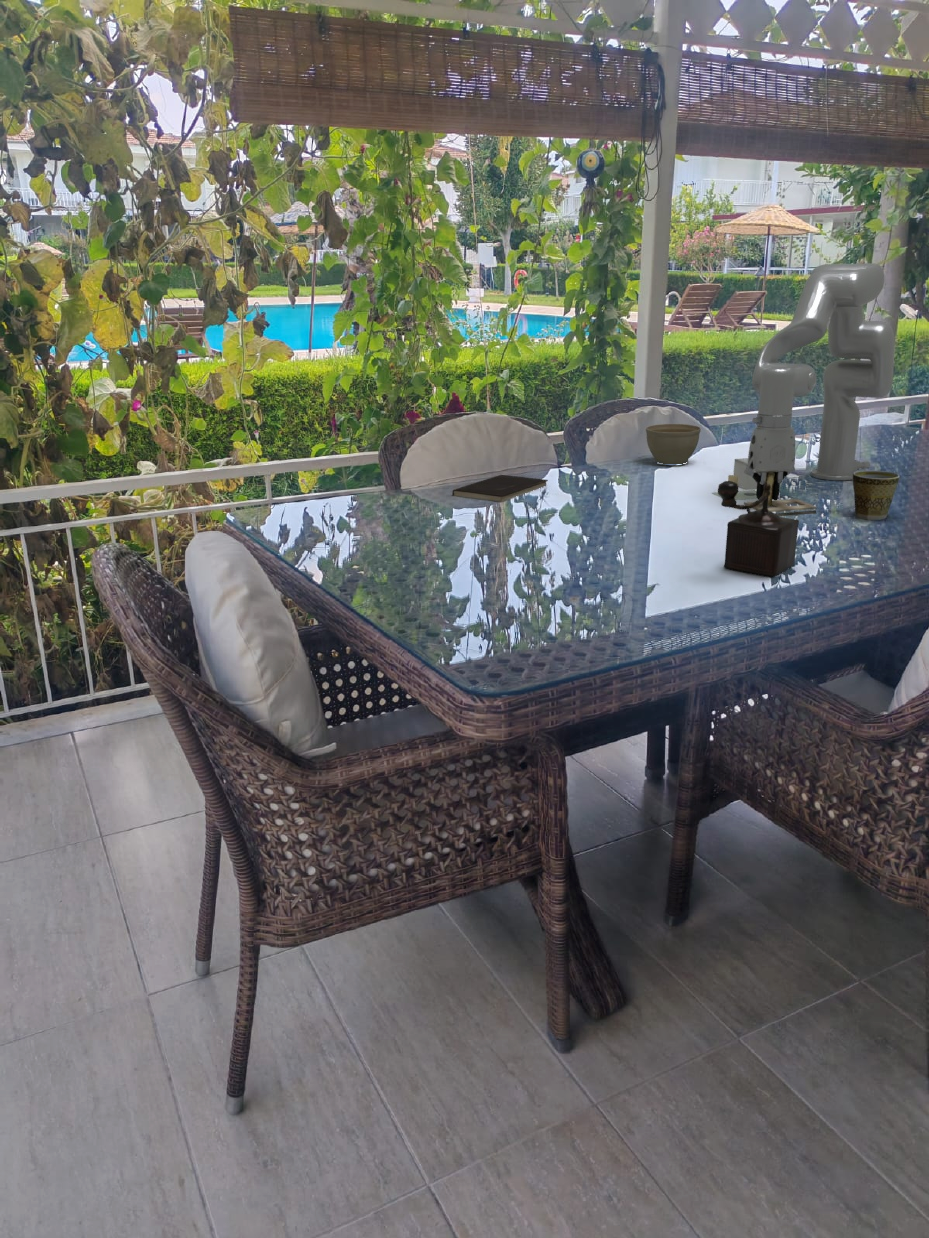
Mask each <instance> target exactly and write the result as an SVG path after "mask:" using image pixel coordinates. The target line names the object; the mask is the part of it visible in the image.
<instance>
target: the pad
mask: <svg viewBox="0 0 929 1238" xmlns="http://www.w3.org/2000/svg"><path fill="white" fill-rule="evenodd" d="M727 479H728V480H727V481H732V482H735V483H737V484H738V476H736V475H734V474H732V475H728V477H727ZM711 494H712V495H714V496H717V497H718V498H721V496H720V495H719V494H718V491H717V492H711ZM754 499H755V500H758V499H757V496H756V489H751V490H738V493H737V494H736V496H735V500H736V501H738V500H739V501H741V500H754Z"/></svg>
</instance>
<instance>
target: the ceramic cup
mask: <svg viewBox="0 0 929 1238" xmlns="http://www.w3.org/2000/svg"><path fill="white" fill-rule="evenodd" d="M899 482H900V474H898V473H895V472H892V471H886V470H874V469H873V470H871V469H870V470H869V469H868V470H866V469H863V470H857V472H854V473H853V479H852V488H853V495H854V496H853V497H854V513H855V515H856V517H857V518H858V519H862V520H869V521H880V520H885V519H886V518H887V517H888V514H889V512H890V507H891V506H892V502H893V498H894V495H895V493H896V490H897V487H898V485H899Z"/></svg>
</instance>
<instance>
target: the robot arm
mask: <svg viewBox="0 0 929 1238" xmlns="http://www.w3.org/2000/svg"><path fill="white" fill-rule="evenodd" d="M884 285H885V272H884V269H883V268H882V266H881V265H880V264H879V263H872V262H871V263H829V264H828V263H827V264H820V265H817V266H815V268H813V269H812V270H811V272H810V275H809V276H808V278H807V280H806V281H805V283H804V286H803V289H802V291H801V294H800V296H799V299H798V302H797V305H796V308H795V311H794V314H793V316H792V319H791V322H790V323H789V324H788V325H787V326H785V327H784V328H782V329H780V331H778V332H777V333H775V335H773V336H772V337H771V338H770V339H769V340H768V341H767V342H766V343H765V345H764V346H763V347H762V349H761V350H760V353H759V356H758V358H757V361H756V364H755V367H754V370H753V374H752V380H751V384H752V388H753V390H754V391H755V393H757V394H759V398H758V408H757V414H756V417H753V418H752V424H756V426H755V427H754V428H753V431H752V436H751V439H750V443H749V446H748V447H749V449H748V455H747V456H748V457H747V458H748V464H747V466H746V468H745V470H744V473H745V474H747V475H749V476H751V477H752V478H753V479H754V480H755V482H757V489H755V491H756V496H757V499H756V500H758V499H759V498H760V497H761V496H762V495H763V491H764V485H765V481H766V473H767V472H775V477H774V488H773V499H772V501H774V500H779V498H778V496H779V495H780V488H781V487H780V483H781V484H783V480H784V479H785V478H786V477H787V476H788V475H790V474H792V473H794V472H795V471H796V467H795V465H796V433H795V428H794V427H793V426H792V418H793V417H792V416H793V403H794V397H795V398H803V397H806V396H807V395H809V394H811V392H813V390H814V388H815V387H816V384H817V379H818V378H817V374H816V370H815V369H814V368H813V366H811V365H809V364H805V363H788V362H786V363H785V362H778V361H779V359H781V358H782V357H783V356H785V355H787V354H789V353H790V352H792V351H794V350H797V349H800V348H803V347H805V346H808V345H811V344H813V343H816V342H818V341H820V340H821V339H823V338H824V337H825V335H826V334H827V340H828V342H827V343H828V351H829V353H830V354H831V356H833V357H835V358H840V359H837V360H834V361H832V362H830V363H828V364H827V366H825V368H824V371H823V375H822V376H823V377H822V384H823V410H822V411H823V412H822V420H821V421H822V422H821V431H820V437H819V438H820V439H819V450H818V458H817V467H816V469H815V468H814V469H811V471H810V476H811V477H813V478H816V479H820V480H828V481H829V480H830V481H851V480H852V481H853V473H854V472H857V471H860V469H861V470H866V469H868V470H869V469H870V468H871V463H870V461H861V462H860V461H859V460H858V459H856V451H857V443H858V436H859V435H858V434H859V425H860V419H861V412H860V408H859V406H858V404H857V403H856V401H855V400H854V399H855V398H857V397H858V398H871V399H872V398H873V399H874V398H884V397H886V396H887V395H888V394H889V393H890V392H891V390H892V387H893V382H894V366H895V365H894V364H895V362H894V361H895V333H894V329H893V327H892V326H891V324H890V323H888V322H886V321H882V320H881V321H879V320H878V321H877V320H865V318H864V306H865V305H866V304H869V303H871V302H873V301H874V300H875V299H877V298H878V297H879V295H880V294H881V292H882V290H883V288H884ZM753 469H756V472H754V471H753Z"/></svg>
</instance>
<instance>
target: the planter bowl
mask: <svg viewBox="0 0 929 1238" xmlns="http://www.w3.org/2000/svg"><path fill="white" fill-rule="evenodd" d="M701 429H702V428H701V427H700V426H698V425H693V424H686V423H685V424H684V423H663V424H661V423H659V424H653V425H648V426H646V427H645V432H646V442H647V446H648V449H649V452H650V453H651V455H652V456H653V458H654V460H655V463H656V462H659V463H663V464H683V463H686V462H689V459H690V458H691V457H692V455H693V454H694V452H695V451H696V449H697V446H698V443H699V440H700V433H701Z"/></svg>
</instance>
